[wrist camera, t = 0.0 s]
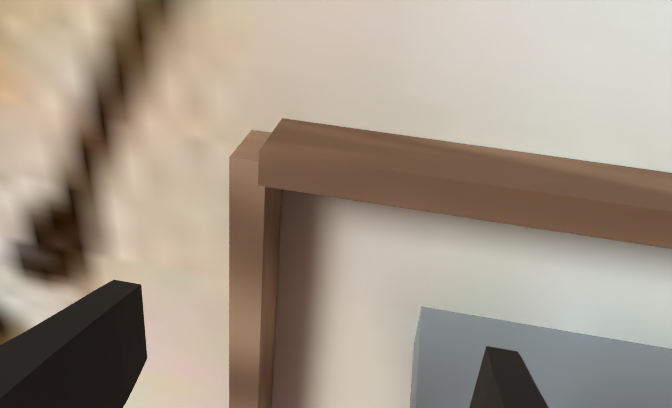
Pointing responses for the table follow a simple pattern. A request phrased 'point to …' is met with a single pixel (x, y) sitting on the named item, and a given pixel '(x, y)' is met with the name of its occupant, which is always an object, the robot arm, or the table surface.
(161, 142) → the table surface
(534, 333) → the grey upright plank
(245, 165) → the rack
